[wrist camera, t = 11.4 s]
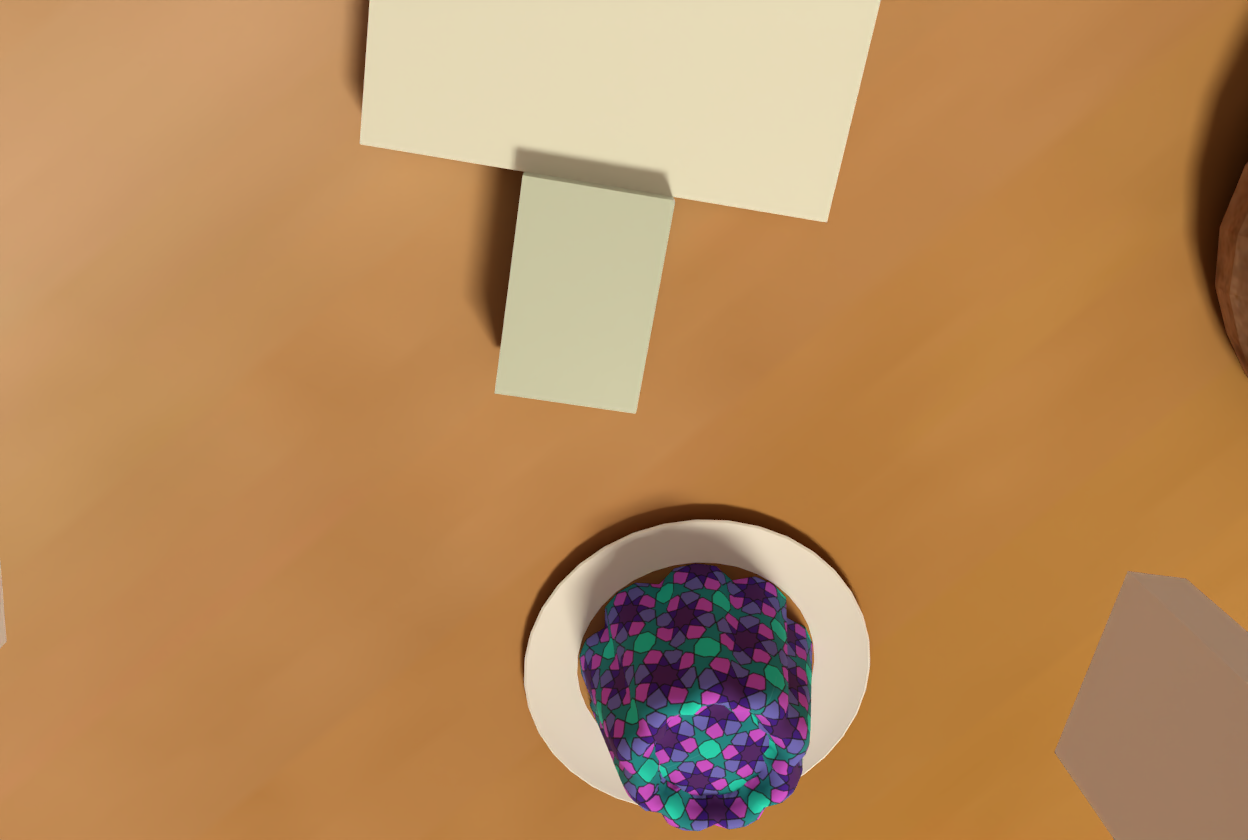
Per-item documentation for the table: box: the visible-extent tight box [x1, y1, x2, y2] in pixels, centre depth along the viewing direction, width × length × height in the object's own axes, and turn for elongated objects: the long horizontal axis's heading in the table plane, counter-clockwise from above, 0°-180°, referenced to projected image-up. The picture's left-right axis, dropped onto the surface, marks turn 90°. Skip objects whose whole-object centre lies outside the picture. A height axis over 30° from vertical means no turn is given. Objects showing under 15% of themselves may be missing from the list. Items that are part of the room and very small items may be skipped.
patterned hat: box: [524, 520, 870, 831], centre depth 31 cm, size 12×12×5 cm
